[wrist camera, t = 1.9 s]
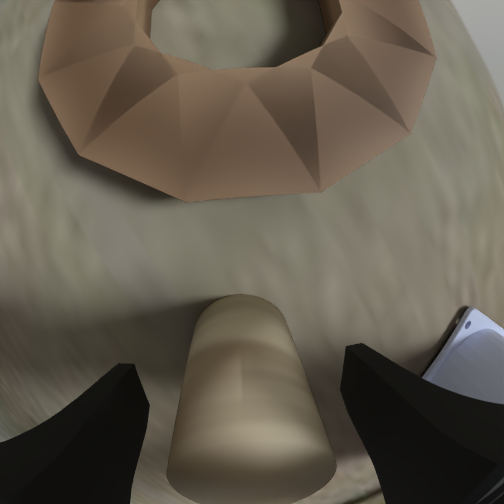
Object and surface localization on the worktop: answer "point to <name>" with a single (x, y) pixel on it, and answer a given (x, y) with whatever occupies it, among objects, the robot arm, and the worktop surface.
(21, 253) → the worktop surface
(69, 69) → the walnut ring
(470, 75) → the worktop surface
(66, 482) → the robot arm
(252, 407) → the beech peg
